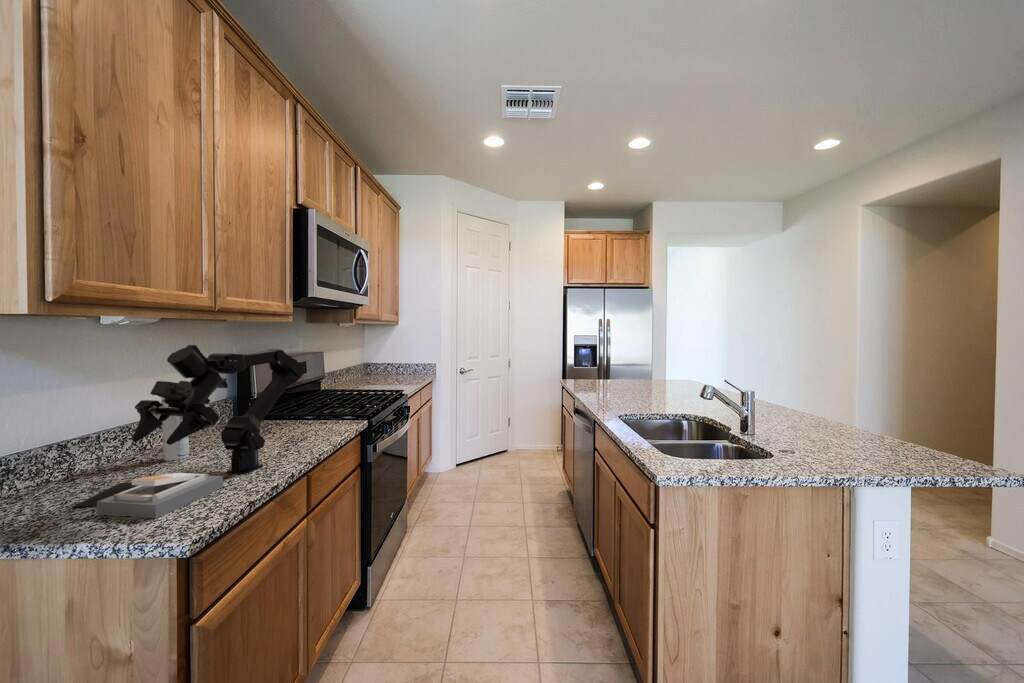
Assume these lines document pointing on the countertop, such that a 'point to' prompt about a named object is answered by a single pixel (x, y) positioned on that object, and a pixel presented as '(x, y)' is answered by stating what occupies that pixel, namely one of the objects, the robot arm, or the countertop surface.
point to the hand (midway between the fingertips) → (150, 442)
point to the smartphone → (105, 495)
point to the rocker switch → (162, 479)
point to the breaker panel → (158, 497)
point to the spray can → (177, 448)
